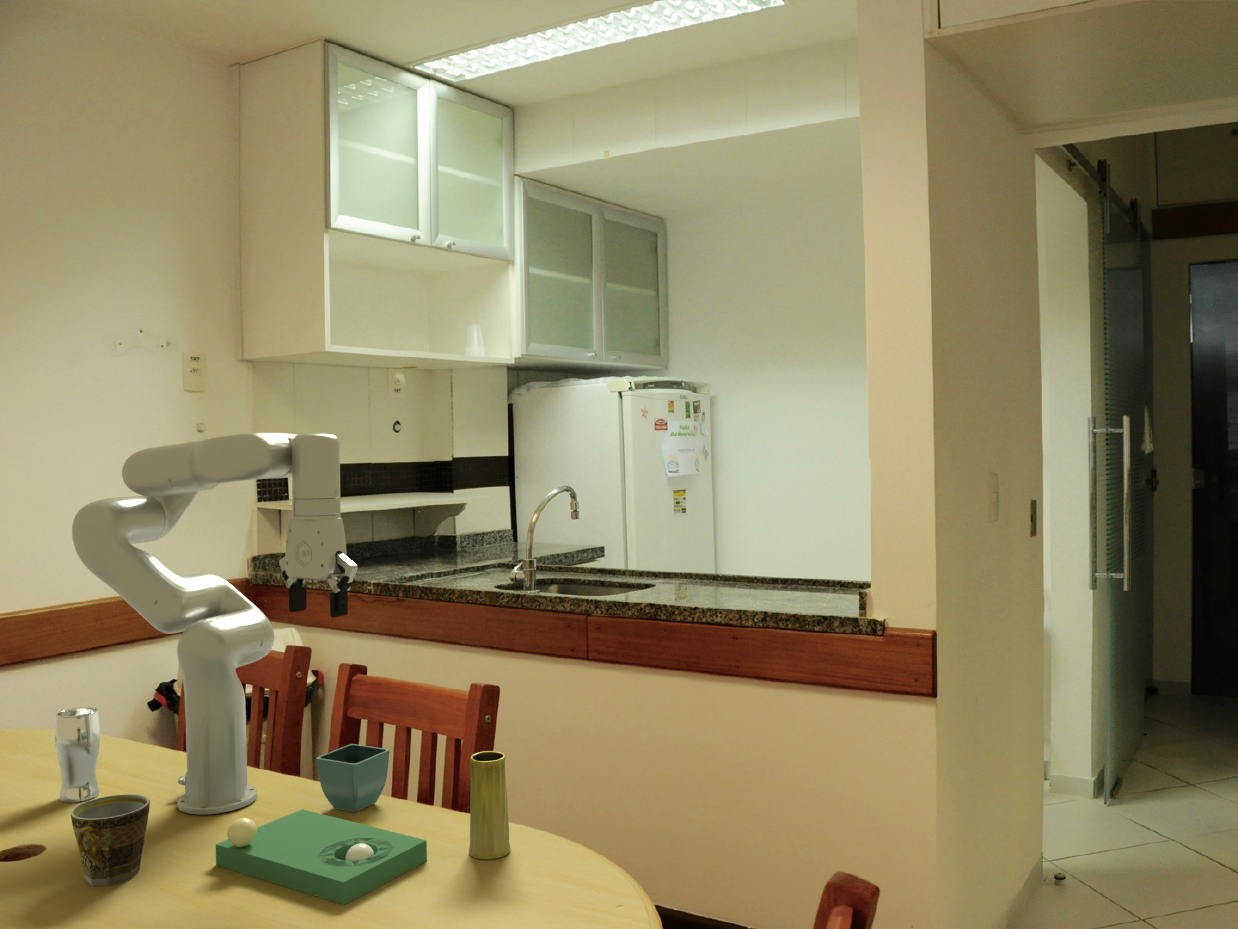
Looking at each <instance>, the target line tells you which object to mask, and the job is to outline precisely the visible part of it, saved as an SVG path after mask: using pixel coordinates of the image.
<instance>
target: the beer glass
mask: <svg viewBox="0 0 1238 929" xmlns="http://www.w3.org/2000/svg"><path fill="white" fill-rule="evenodd" d="M54 723H55V725H54V743H55V752H56V756H57V762H58V765H59V769H60V775H61V787H60V794H59V801H60V802H61V803H64V802H65V803H67V804H72V803H73V804H75V802H76V803H81V802H80V801H83V802H86V801H85V800H87V801H89V800H88V799H90V800H92V799H91V798H93V797H95V798H96V796H97V795H98V794H99V795H100V790H99V789H100V788H99V786H98V781H97V780H98V779H97V764H98V758H99V754H100V752H99V750H100V746H101V725H100V723H101V722H100V716H99V708H98V707H95V706H79V707H72V708H71V707H70V708H67V709H63V710H60V711H58V712H56V713H55V722H54ZM99 795H98V796H99ZM98 796H97V797H98ZM93 799H94V798H93ZM65 803H64V804H65Z"/></svg>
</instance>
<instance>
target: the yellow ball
mask: <svg viewBox="0 0 1238 929" xmlns="http://www.w3.org/2000/svg"><path fill="white" fill-rule="evenodd" d="M257 827H258V826H257V825H256V822H254V821H253V819H251V818H248V817H240V818H237V819H235V820H233V822H231V824H230V825H229V827H228V829H227V834H226V835H227V840H229V841H230V843H231V844H232V845H234V846H236V847H245V846H247V845H249V844H251V843H252V842H253V840H254V839H255V837H256V834H257Z"/></svg>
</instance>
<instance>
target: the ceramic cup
mask: <svg viewBox="0 0 1238 929" xmlns="http://www.w3.org/2000/svg"><path fill="white" fill-rule="evenodd" d="M150 803H151V801H150V799H149V798H148V797H147V796H146V795H145V796H144V795H140V794H133V793H132V794H130V793H128V794H127V793H126V794H115V795H114V794H113V795H109V796H101V797H99V798H93V799H90V800H87V801H84V802H83V803H81V804H79V805H77V806H76V807H74V808H73V809H72V810H71V811H70V818H71V819H70V820H71V824H72V828H73V833H74V837H75V839H76V844H77V847H78V852H79V856H80V862H81V865H82V869H83V874H84V878H85V880H86V882H88V884H89V885H91V886H92V887H111V886H115V885H117V884H121V883H125V882H127V881H130V880H132V879H133V877H135V876H136V875H137V874H138V873H139V871H140V869H141V865H142V857H143V849H144V843H145V836H146V831H147V826H148V822H149V821H148V820H149V814H150Z"/></svg>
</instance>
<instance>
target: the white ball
mask: <svg viewBox="0 0 1238 929" xmlns="http://www.w3.org/2000/svg"><path fill="white" fill-rule="evenodd" d="M372 855H374V852H373V850H372V848H371V847H370V846H369V845H367V844H364V843H359V844H355V845H354V846H352V847H351V848H350V849H349V850H348V852H347V854H346V858H345V861H356V860H360V859H365V858H368V857H370V856H372Z"/></svg>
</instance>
